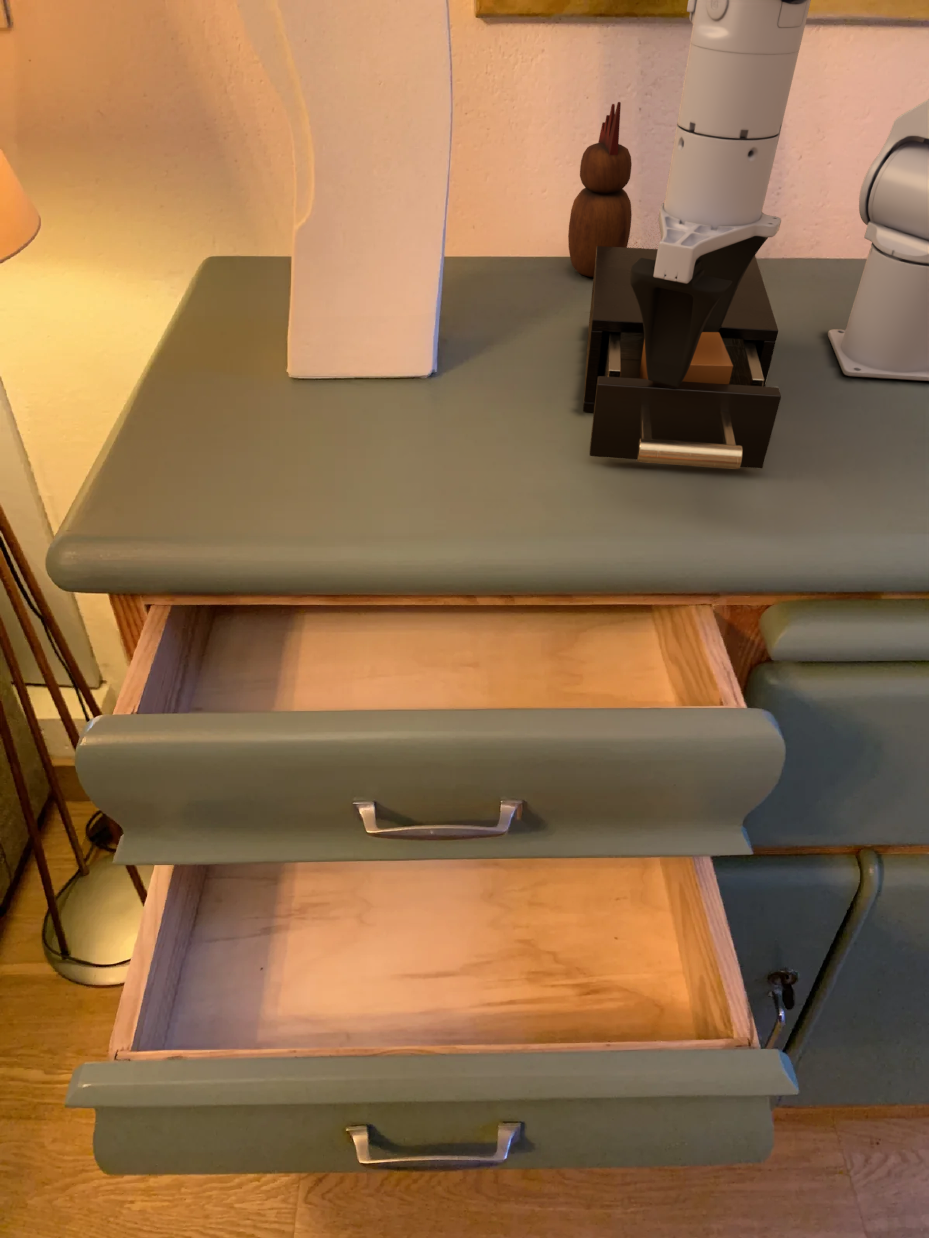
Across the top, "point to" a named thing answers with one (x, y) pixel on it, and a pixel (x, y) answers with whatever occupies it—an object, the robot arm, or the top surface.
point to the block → (704, 361)
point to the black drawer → (682, 411)
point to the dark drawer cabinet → (622, 314)
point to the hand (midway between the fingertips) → (682, 357)
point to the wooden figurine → (601, 198)
